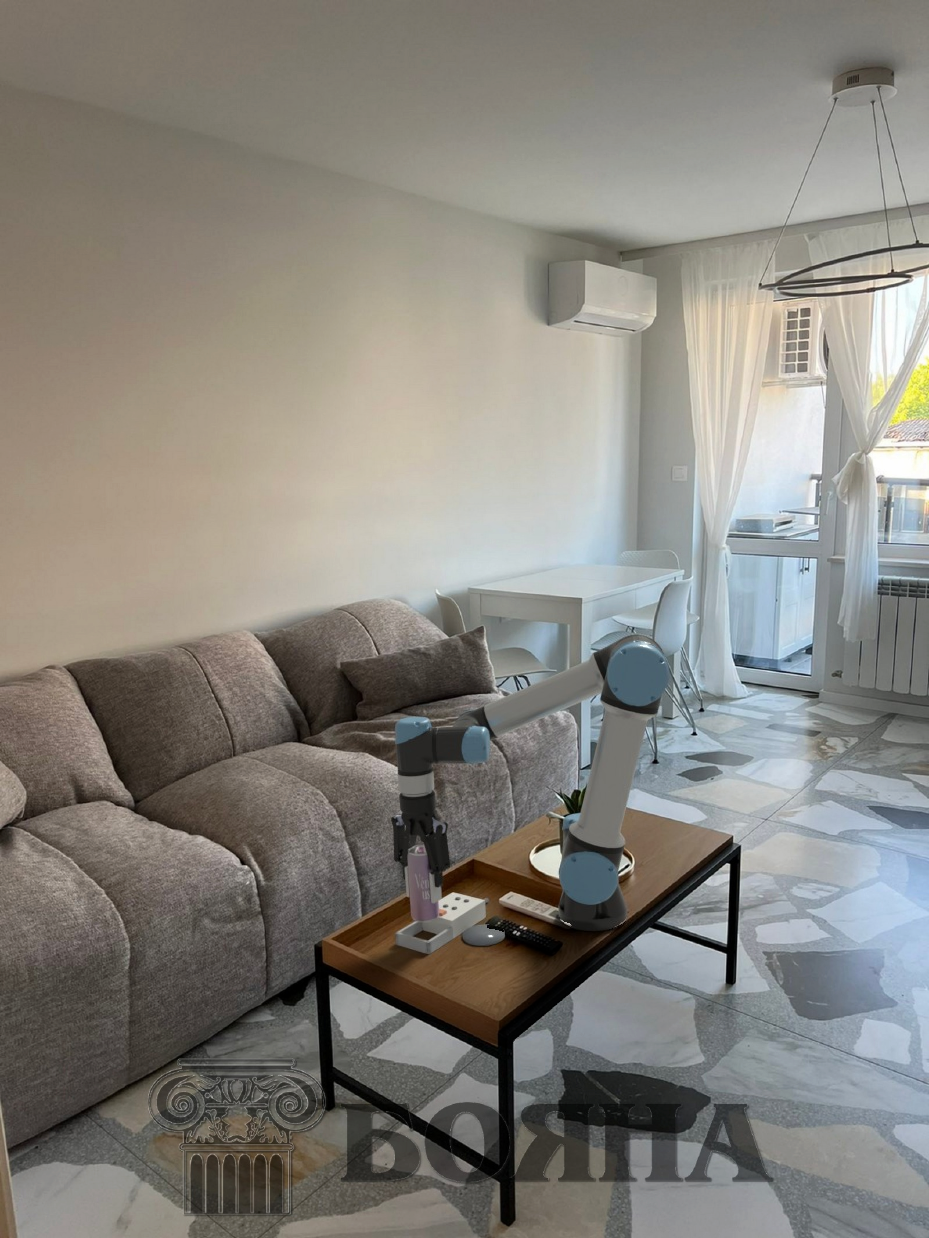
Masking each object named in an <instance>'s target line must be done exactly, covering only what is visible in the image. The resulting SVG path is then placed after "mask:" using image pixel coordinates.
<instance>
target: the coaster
mask: <svg viewBox="0 0 929 1238" xmlns="http://www.w3.org/2000/svg"><path fill="white" fill-rule="evenodd" d="M487 925H488V923H487V924H485V923H483V924H475V925H474V926H472V927H469V928H467V929H466V930H465V931H464V932H463V933H462V940H463V942H465V943H466V944H468V945H471V946H478V947H487V946H493V945H496V944H499V943H500V942H502V941H503V940H504V939H505V937H506V935H505V931H504V932H502V931H499V930H495V929H489V928H487Z"/></svg>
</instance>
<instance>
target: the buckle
mask: <svg viewBox="0 0 929 1238" xmlns="http://www.w3.org/2000/svg"><path fill="white" fill-rule="evenodd" d="M489 899H490V898H488V897H485V898H483V899H482V898H477V897H473V896H469V895H467V894H461V893H457V892H454V891H453V892H451V893H449V894H447V895H446V896H444V897H442V899H441V900H439V916H438V918H437V919H436V920H434V921H431V922H427V923H420V922H416V921H415V920H414V921H413V922H411V923H410V924H408V925H406V926H405V927H403V928H402V929H400V930H398V931H396V932H395V933H394V937H395V945H397V946H399V947H401V948H402V947H403V948H406V949H410V950H412V951H416V952H420V953H423V954H427V955H431V954H432V953H434V952H435V951H437V950H438V949H439V948H441V947H443V946H445V945H446V944H447V943H449V942H451V941H452V940H454V939H455V938H456V937H458V936H460V935H461V934H463V932H464V931H465V930H466V929H467V928H469V927H472V926H476V925H478V923H479V922H481V921H482V920H484V919H486V918H487V916H486V914H487V912H486V911H487V909H486V904H487V903H489V901H490V900H489ZM422 931H425V932H428V933H432V934H435V936H433V937H431V938H430V939H429V940H427V939H423V938H420V937H415V936H416V935H417V934H419V933H421V932H422Z"/></svg>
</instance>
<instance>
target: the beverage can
mask: <svg viewBox="0 0 929 1238" xmlns="http://www.w3.org/2000/svg"><path fill="white" fill-rule="evenodd" d="M407 862H408V876H409V890H410V897H409V902H410V916H411V918H412V920H414V922H415V921H416V922H420V923H427V922H431V921H434V920H436V919H437V918H438V916H439V901H437V902H436V903H431V894H430V879H429V873H430V872H431V871H432V869H431V865H430V862H429V859H428V856H427V852H426V849H425V846H424V844H415V846H413V847H412V848H409V849H408V854H407Z"/></svg>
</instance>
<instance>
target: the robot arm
mask: <svg viewBox="0 0 929 1238" xmlns="http://www.w3.org/2000/svg"><path fill="white" fill-rule="evenodd" d="M669 681H670V666H669V663H668V659H667V658H666V656H665V653H664V650H663V649H662V648H661V646H660V644H659V643H658V642H657V641H655V639H653V638H652V637H649V636H647V635H645V634H644V635H643V634H637V633H636V634H629V635H626V636H623V637H622V638H619V639H618V640H616V641H614V642H612V643H611V644H609V645H607V646H604V647H603V648H601V649H599V650H596V651H594V652H592V653H591V655H590V658H589V659H588V660H586V661H583V662H581V663H579V664H577V665H575V666H571V667H570V668H567V669H565V670H563V671H561V672H559V673H557V674H553V675H552V676H551V675H550V677H547V678H545V679H542V680H539V681H538V682H536V683H535V682H534V683H533V684H531V685H529V686H526V687H524V688H522V689H520V690H517V691H515V692H513V693H511V694H509V695H506V696H503V697H501V698H498V699H496V700H493V701H492V702H490V703H488V704H486V705H484V706H481V707H478V708H476V709H468V710H466V711H464V712H462V713H461V714H460V715H459V716H458V717H457V718H456V720H455V722H454V723H453V724H452V726H447V727H446V726H444V727H435V726H432V724H431V720H430V719H429V718H428V717H425V716H408V717H404V718H400V719H399V720H397V722H396V723H395V725H394V726H395V727H394V728H395V729H394V730H395V731H394V735H395V737H394V739H395V740H394V745H395V751H396V752H395V753H396V754H395V755H396V765H397V784H398V785H397V787H398V792H399V795H398V796H399V797H398V798H399V809H400V811H401V813H398V814H397V815H394V816H392V817H391V818H390V821H391V825H392V828H393V829H392V831H393V833H392V835H393V859H394V860H393V861H394V862H396V863H400V866H402V878H403V880H405V891H406V892H405V893H406V897H407V898H410V890H409V876H408V862H407V854H408V849H409V848H412V847H413V846H416V842H417V838H418V837H419V839H420V841H421V842H422V843H423V845H424V846H425V849H426V852H427V856H428V859H429V862H430V865H431V869H432V871H431V872H430V873H429V879H430V894H431V903H436V902H437V901H439V900H441V899H442V898H443V897H442V886H444V875H443V872H445V871H446V870H448V869H450V868H451V859H450V851H449V842H448V827H449V825H448V823H447V822H446V821H443V822H441V821H439V820H438V819H437V817H436V814H435V810H436V809H437V808H436V807H437V803H436V792H435V790H434V789H435V778H434V777H435V776H434V773H435V772H434V765H442V764H443V765H445V764H446V765H447V764H449V765H450V764H452V765H455V764H456V765H457V764H458V765H459V764H462V765H463V764H464V765H465V764H466V765H467V764H468V765H474V764H481V763H487V762H488V761H489V759H490V753H491V741H493V740H495V739H498V738H499V737H502V736H504V735H506V734H507V735H508V734H509V733H511V732H513V731H516V730H519V729H520V728H523V727H525V726H528V725H530V724H532V723H535V722H537V721H540V720H542V719H543V718H544V719H545V718H546V717H548V716H551V715H553V714H556V713H558V712H561V711H562V710H563V711H564V710H565V709H568V708H570V707H572V706H575V705H577V704H580V703H582V702H584V701H587V700H589V699H592V698H593V697H596V696H598V695H600V698H599V701H600V703H601V704H602V706H603V707H604V714H603V718H602V722H601V726H600V731H599V735H598V738H597V743H596V747H595V751H594V755H593V760H592V763H591V764H592V765H591V768H590V772H589V776H588V780H587V784H586V788H585V793H584V797H583V801H582V806H581V808H580V812H578V813H572V814H569V815H567V816H565V817H564V818H563V820H562V827H561V829H562V834H563V835H562V838H563V840H562V841H563V843H562V844H563V845H562V853H561V860H560V865H559V868H558V879H559V883H560V886H561V888H562V893H561V896H560V900H559V903H558V907H557V908H558V911H557V912H559V913H558V918H559V917H560V919H562V920H563V921H564V922H567V923H570V924H571V925H572V926H571V927H570V928H571V929H574V930H578V931H586V932H602V931H609V929H610V930H613V929H614V928H613V927H615V926H617V925H619V924H620V923H621V922H623V921H624V920H625V919H626V917H627V914H628V905H627V903H626V900H625V897H624V894H623V892H622V888H621V885H620V883H619V880H620V879H619V878H620V877H619V870H620V865H621V862H622V858H623V857H622V856H623V853H624V850H625V844H626V839H625V837H624V836H623V834H622V833H621V831H622V830H621V829H622V826H623V822H624V817H625V813H626V811H627V810H626V808H627V806H628V805H627V804H628V801H629V798H630V793H631V788H632V785H633V781H634V777H635V774H636V770H637V765H638V761H639V758H640V757H639V756H640V753H641V748H642V745H643V740H644V736H645V733H646V729H647V725H648V721H649V720H650V719H652V718H654V717H656V716H657V715H658V713H659V708H660V704H661V700H662V697H663V694H664V692H665V691H666V688H667V687H668V684H669ZM560 919H559V920H560ZM612 928H613V929H612Z"/></svg>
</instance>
